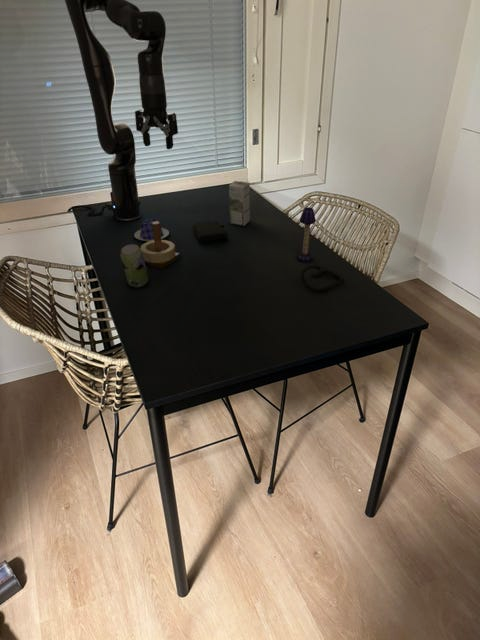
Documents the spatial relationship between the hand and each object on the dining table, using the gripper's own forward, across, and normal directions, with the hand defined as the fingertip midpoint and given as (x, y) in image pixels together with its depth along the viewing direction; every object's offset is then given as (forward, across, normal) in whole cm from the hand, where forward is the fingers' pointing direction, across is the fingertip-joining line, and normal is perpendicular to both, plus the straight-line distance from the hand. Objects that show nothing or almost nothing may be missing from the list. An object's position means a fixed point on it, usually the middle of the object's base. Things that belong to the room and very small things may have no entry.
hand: (158, 147), depth 155 cm
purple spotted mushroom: (+30, -49, -6) cm, 58 cm away
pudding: (+30, +5, +2) cm, 31 cm away
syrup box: (+30, -16, -23) cm, 41 cm away
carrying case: (+30, -13, -8) cm, 34 cm away
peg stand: (+30, -9, +16) cm, 35 cm away
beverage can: (+30, -13, +32) cm, 46 cm away
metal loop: (+30, -59, +6) cm, 67 cm away
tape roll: (+29, -9, +16) cm, 34 cm away
